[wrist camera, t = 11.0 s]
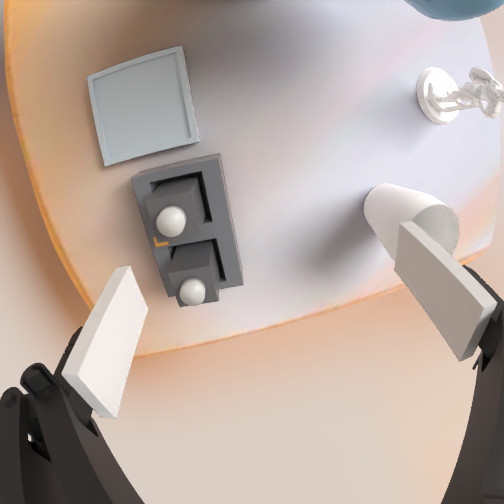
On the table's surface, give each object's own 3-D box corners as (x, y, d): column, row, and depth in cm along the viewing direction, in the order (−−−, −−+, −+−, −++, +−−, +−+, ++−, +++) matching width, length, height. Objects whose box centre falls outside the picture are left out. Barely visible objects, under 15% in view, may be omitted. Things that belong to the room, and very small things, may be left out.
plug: (178, 240, 36) (165, 280, 28) (212, 234, 36) (208, 273, 28) (187, 270, 38) (177, 315, 30) (220, 265, 38) (218, 309, 30)
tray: (91, 77, 26) (86, 76, 25) (183, 48, 26) (181, 45, 25) (109, 164, 32) (104, 166, 31) (200, 140, 32) (198, 141, 31)
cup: (373, 246, 40) (414, 292, 29) (343, 201, 37) (385, 238, 26) (417, 210, 38) (466, 245, 27) (392, 162, 34) (447, 185, 24)
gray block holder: (141, 171, 33) (109, 194, 24) (219, 153, 33) (215, 169, 23) (173, 280, 40) (159, 329, 31) (242, 269, 40) (246, 318, 31)
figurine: (435, 56, 27) (511, 52, 14) (466, 102, 30) (539, 115, 17) (406, 89, 30) (485, 92, 16) (439, 136, 33) (515, 159, 19)
